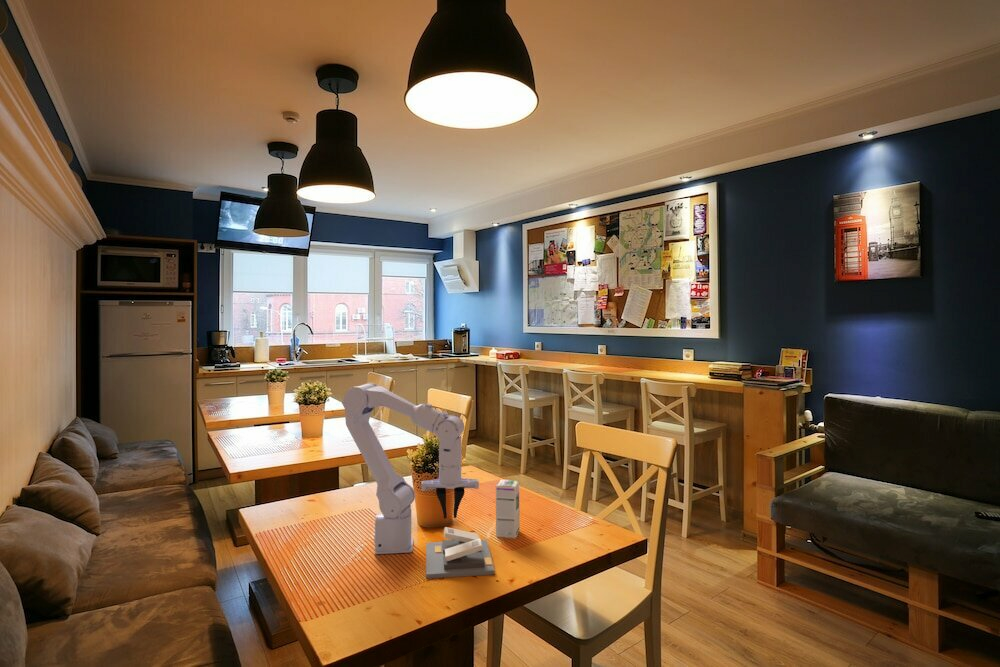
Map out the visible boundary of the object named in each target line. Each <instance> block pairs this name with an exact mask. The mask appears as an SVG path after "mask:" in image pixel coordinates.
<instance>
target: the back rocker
mask: <svg viewBox="0 0 1000 667" xmlns="http://www.w3.org/2000/svg"><path fill="white" fill-rule="evenodd" d="M443 537H444V538H445V539H447V540H457V541H462V542H470V541H473V540H476V539H479V538H480V535H479V533H477V532H476V533H475V532H472V531H471V532H470V531H468V530H467V531H466V530H462V529H456V528H453V527H447V526H445V527H444V529H443Z"/></svg>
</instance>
